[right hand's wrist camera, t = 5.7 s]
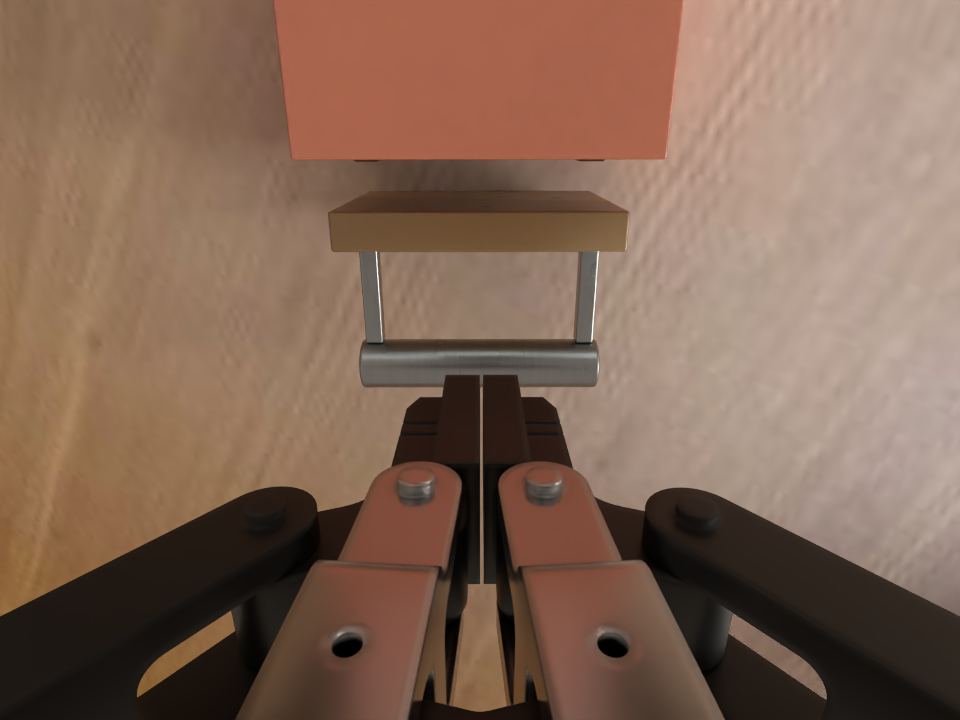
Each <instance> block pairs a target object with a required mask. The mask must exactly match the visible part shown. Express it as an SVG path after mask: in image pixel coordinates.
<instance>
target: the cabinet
mask: <svg viewBox="0 0 960 720" xmlns="http://www.w3.org/2000/svg"><path fill="white" fill-rule="evenodd" d="M683 3H684V0H273V5H274V14H275V22H276V31H277V40H278V48H279V57H280V66H281V74H282V83H283V91H284V100H285V109H286V117H287V126H288V135H289V143H290V152H291V158H292V159H293V160H496V159H666V156H667V147H668V138H669V129H670V120H671V111H672V102H673V93H674V84H675V75H676V66H677V57H678V48H679V39H680V30H681V21H682V12H683Z"/></svg>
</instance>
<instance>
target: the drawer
mask: <svg viewBox="0 0 960 720" xmlns="http://www.w3.org/2000/svg"><path fill="white" fill-rule="evenodd" d="M574 160H578V161H604V160H605V159H574ZM354 161H380V160H354ZM629 218H630V213H629V212H628V211H626V210H624V209H623V208H621V207H619V206H617V205H615V204H613V203H611V202H609V201H607V200H605V199H603V198H601V197H599V196H597V195H595V194H593V193H591V192H589V191H370V192H368V193H366V194H364V195H362V196H360V197H358V198H356V199H354V200H352V201H350V202H348V203H346V204H344V205H342V206H340V207H338V208H336V209H335V210H333V211H331V212H329V213H328V219H329V229H330V240H331V250H332V251H333V252H359V255H360V268H361V280H362V293H363V306H364V318H365V331H366V340H364V341H363V342H362V345H361V349H360V359H359V368H360V377H361V382H362V384H363V386H364V387H444V382H445V375H480V387H483V375H518V381H519V387H594V386H596V384H597V381H598V376H599V350H598V345H597V343H596V341H595V340H594V339H593V327H594V313H595V300H596V286H597V273H598V260H599V252H624V251H626V249H627V240H628V229H629ZM380 252H579V256H578V272H577V289H576V305H575V321H574V339H385V325H384V310H383V295H382V279H381V264H380Z"/></svg>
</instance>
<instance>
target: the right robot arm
mask: <svg viewBox="0 0 960 720" xmlns="http://www.w3.org/2000/svg"><path fill="white" fill-rule="evenodd" d="M483 534H484V584H496V590H497V633H498V641H499V649H500V657H501V664H502V672H503V680H504V688H505V696H506V704H507V707H503V708H499V709H495V710H491V711H485V712H475V711H469V710H465V709H461V708H457V707H453V704H454V696H455V688H456V680H457V672H458V664H459V657H460V649H461V641H462V633H463V610H464V608H465V606H466V603H467V592H468V584H480V375H445V382H444V389H443V396H442V397H420V398H419V399H418V400H416V401H415V402H414V403H413V404H412V405H411V406H409V407H408V408H407V410H406V414H405V418H404V421H403V425H402V429H401V434H400V436H399V440H398V444H397V448H396V451H395V455H394V459H393V462H392V466H391V467H390V468H388V469H386V470H385V471H383V472H382V473H380V474H379V475H378V476H377V477H376V478H375V479H374V481H373V482H372V484H371V486H370V488H369V491H368V493H367V495H366V497H365V500H363V501H360V502H358V503H355V504H352V505H348V506H344V507H340V508H335V509H330V510H325V511H320V512H318V511H317V503H316V501H315V499H314V498H313V496H312V495H310V494H309V493H308V492H306V491H304V490H301V489H298V488H293V487H270V488H264V489H259V490H255V491H252V492H250V493H247V494H244V495H242V496H240V497H238V498H236V499H234V500H232V501H230V502H228V503H226V504H224V505H222V506H220V507H218V508H216V509H214V510H212V511H210V512H208V513H206V514H204V515H202V516H200V517H198V518H196V519H194V520H192V521H190V522H188V523H186V524H184V525H182V526H180V527H178V528H176V529H174V530H172V531H170V532H168V533H166V534H164V535H162V536H160V537H158V538H156V539H154V540H152V541H150V542H148V543H146V544H144V545H142V546H140V547H138V548H136V549H134V550H132V551H130V552H128V553H126V554H124V555H122V556H120V557H118V558H116V559H114V560H112V561H110V562H108V563H106V564H104V565H102V566H100V567H98V568H96V569H94V570H92V571H90V572H88V573H86V574H84V575H82V576H80V577H78V578H76V579H74V580H72V581H70V582H68V583H66V584H64V585H62V586H60V587H58V588H56V589H54V590H52V591H50V592H48V593H46V594H44V595H42V596H40V597H38V598H36V599H34V600H32V601H30V602H28V603H26V604H24V605H22V606H20V607H18V608H16V609H14V610H12V611H10V612H8V613H6V614H4V615H2V616H0V720H960V616H958V615H956V614H954V613H952V612H950V611H948V610H946V609H944V608H942V607H940V606H938V605H936V604H934V603H932V602H930V601H928V600H926V599H924V598H922V597H920V596H918V595H916V594H914V593H912V592H910V591H908V590H906V589H904V588H902V587H900V586H898V585H896V584H894V583H892V582H890V581H888V580H886V579H884V578H882V577H880V576H878V575H876V574H874V573H872V572H870V571H868V570H866V569H864V568H862V567H860V566H858V565H856V564H854V563H852V562H850V561H848V560H846V559H844V558H842V557H840V556H838V555H836V554H834V553H832V552H830V551H828V550H826V549H824V548H822V547H820V546H818V545H816V544H814V543H812V542H810V541H808V540H806V539H804V538H802V537H800V536H798V535H796V534H794V533H792V532H790V531H788V530H786V529H784V528H782V527H780V526H778V525H776V524H774V523H772V522H770V521H768V520H766V519H764V518H762V517H760V516H758V515H756V514H754V513H752V512H750V511H748V510H746V509H744V508H742V507H740V506H738V505H736V504H734V503H732V502H730V501H728V500H726V499H724V498H722V497H720V496H717V495H715V494H712V493H709V492H706V491H702V490H698V489H692V488H670V489H665V490H661V491H659V492H657V493H655V494H653V495H652V496H651V497H650V498H649V499H648V500H647V503H646V506H645V511H640V510H636V509H631V508H626V507H621V506H617V505H613V504H610V503H607V502H604V501H602V500H600V499H598V498H596V497H594V495H593V493H592V491H591V488H590V486H589V484H588V482H587V481H586V479H585V478H584V477H583V476H582V475H581V474H580V473H578V472H577V471H575V470H574V469H573V467H572V463H571V460H570V456H569V452H568V449H567V445H566V442H565V438H564V435H563V431H562V427H561V424H560V420H559V417H558V413H557V410H556V408H555V407H554V406H553V405H552V404H550V403H549V402H548V401H547V400H546V399H544V398H543V397H521V394H520V388H519V381H518V375H483ZM229 611H231V612H232V617H233V621H234V626H235V632H233V633H232V634H230V635H229V636H227V637H226V638H224V639H223V640H222V641H220V642H219V643H217V644H216V645H214V646H213V647H211V648H210V649H208V650H207V651H205V652H204V653H202V654H201V655H200V656H198V657H197V658H195V659H194V660H192V661H191V662H189V663H188V664H186V665H185V666H183V667H182V668H181V669H179V670H178V671H176V672H175V673H173V674H172V675H170V676H169V677H167V678H166V679H164V680H163V681H162V682H160V683H159V684H157V685H156V686H154V687H153V688H151V689H150V690H148V691H147V692H145V693H144V694H142V695H141V696H139V697H138V698H137V689H138V685H139V683H140V680H141V678H142V677H143V675H144V673H145V672H146V671H147V669H148V668H149V667H150V666H151V665H152V664H153V662H155V661H156V660H157V659H158V658H159V657H161V656H162V655H163V654H165V653H166V652H168V651H169V650H171V649H172V648H174V647H175V646H177V645H179V644H180V643H182V642H183V641H185V640H186V639H188V638H189V637H191V636H192V635H194V634H195V633H197V632H198V631H200V630H202V629H203V628H205V627H206V626H208V625H209V624H211V623H212V622H214V621H215V620H217V619H218V618H220V617H222V616H223V615H225V614H226V613H228V612H229ZM733 613H734V614H735V615H737V616H738V617H740V618H742V619H743V620H745V621H746V622H748V623H749V624H751V625H752V626H754V627H755V628H757V629H758V630H760V631H762V632H763V633H765V634H766V635H768V636H769V637H771V638H772V639H774V640H775V641H777V642H778V643H780V644H781V645H783V646H785V647H786V648H788V649H789V650H791V651H792V652H794V653H795V654H797V655H798V656H800V657H801V658H803V659H804V660H805V661H806V662H807V663H809V664H810V665H811V666H812V667H813V669H814V670H815V671H816V672H817V673H818V675H819V676H820V678H821V680H822V681H823V684H824V686H825V689H826V693H827V700H825V699H824V698H822V697H820V696H819V695H818V694H816V693H815V692H813V691H812V690H810V689H809V688H807V687H806V686H804V685H803V684H801V683H800V682H798V681H797V680H796V679H794V678H793V677H791V676H790V675H788V674H787V673H785V672H784V671H782V670H781V669H779V668H778V667H777V666H775V665H774V664H772V663H771V662H769V661H768V660H766V659H765V658H763V657H762V656H760V655H759V654H758V653H756V652H755V651H753V650H752V649H750V648H749V647H747V646H746V645H744V644H743V643H741V642H740V641H739V640H737V639H736V638H734V637H733V636H731V635H730V634H729V629H730V624H731V619H732V615H733Z"/></svg>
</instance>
